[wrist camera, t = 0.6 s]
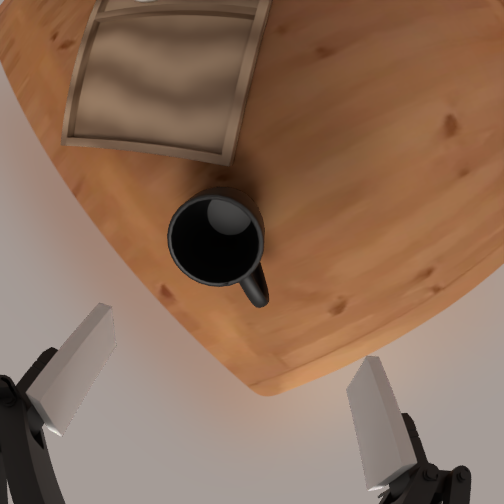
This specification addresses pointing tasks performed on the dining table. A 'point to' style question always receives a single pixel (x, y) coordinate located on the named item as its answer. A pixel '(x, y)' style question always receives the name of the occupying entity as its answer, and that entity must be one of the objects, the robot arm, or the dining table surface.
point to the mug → (220, 241)
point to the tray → (165, 77)
